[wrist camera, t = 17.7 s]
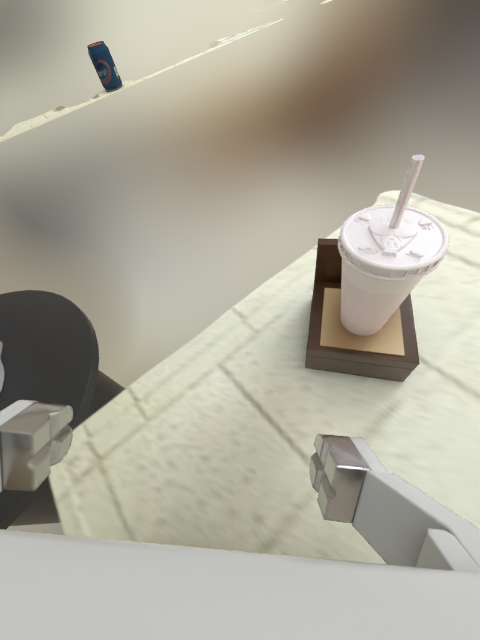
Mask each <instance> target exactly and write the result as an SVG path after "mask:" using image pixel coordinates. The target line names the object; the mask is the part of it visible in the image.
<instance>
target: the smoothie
mask: <svg viewBox="0 0 480 640" xmlns="http://www.w3.org/2000/svg"><path fill="white" fill-rule="evenodd" d="M423 160H424V156H423V155H414V156H413V157H412V160H411V163H410V166H409V169H408V172H407V175H406V177H405V181H404V183H403V186H402V189H401V192H400V195H399V198H398V201H397V204H396V205H377V206H373V207H368V208H366V209H363V210H360V211H358V212H356V213H355V214H353V215H351V216H350V217H349V218H348V219H347V220H346V221H345V222H344V224H343V226H342V228H341V232H340V236H339V238H338V250H339V252H340V255H341V257H342V277H341V315H340V318H341V323H342V325H343V326H344V327H345V328H346V329H347V330H348V331H349V332H351V333H353V334H356V335H360V336H369V335H373V334H375V333H377V332H378V331H379V330H380V329H381V328H382V327H383V326H384V324H385V323H386V322H387V321H388V319H389V318H390V317H391V316H392V314H393V313H394V312H395V311H396V309H397V308H398V307H399V306H400V304H401V303H402V302H403V301H404V300H405V298H406V297H407V296H408V295H409V293H410V292H411V291H412V290H413V288H414V287H415V286H416V285H417V284H418V282H419V281H420V280H421V279H422V277H423V276H424V275H427V274H428V273H430V272H431V271H433V270H434V269H436V268H437V267H438V266H439V264H440V263H441V262H442V260H443V257H444V254H445V253H446V251H447V249H448V247H449V243H450V239H449V234H448V231H447V229H446V228H445V226H444V225H443V224H442V223H441V222H440V221H439V220H438V219H436V218H435V217H434V216H432V215H430V214H428V213H427V212H425V211H422V210H419V209H416V208H413V207H408V206H407V203H408V200H409V198H410V195H411V192H412V190H413V187H414V184H415V182H416V179H417V176H418V174H419V171H420V168H421V166H422V162H423Z"/></svg>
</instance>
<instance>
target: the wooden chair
mask: <svg viewBox="0 0 480 640" xmlns="http://www.w3.org/2000/svg"><path fill="white" fill-rule="evenodd" d="M341 277H342V257H341V255H340V252H339V250H338V239H318V248H317V259H316V269H315V280H314V289H313V298H312V307H311V316H310V325H309V334H308V343H307V353H306V364H305V367H306V368H312V369H319V370H326V371H333V372H340V373H347V374H354V375H361V376H368V377H375V378H382V379H389V380H396V381H404V380H405V379H406V378H407V377H408V376H409V375H410V373H411V372H412V371H413V370H414V369H415V368H416V367H417V366H418V365H419V356H418V348H417V341H416V333H415V326H414V318H413V310H412V303H411V295H410V293H409V295H408V296H407V297H406V298H405V300H404V301H403V302H402V303H401V304H400V306H399V307H398V308H397V309H396V311H395V312H394V313H393V314H392V316H391V317H390V318H389V319H388V321H387V322H386V323H385V324H384V326H383V327H382V328H381V329H380V330H379V331H378V332H377V333H375V334H373V335H369V336H360V335H356V334H353V333H351V332H349V331H348V330H347V329H346V328H345V327H344V326H343V325H342V323H341V318H340V315H341Z"/></svg>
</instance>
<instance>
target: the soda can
mask: <svg viewBox="0 0 480 640" xmlns="http://www.w3.org/2000/svg"><path fill="white" fill-rule="evenodd" d="M88 53H89V56H90V58H91V60H92V62H93V65H94V67H95V69H96V72H97V74H98V76H99V78H100V80H101V83H102V85H103V87H104V88H105V89H106V90H107V91H109V92H110V91H115V90H117V89H120V88H121V87H122V81H121V79H120V76H119V74H118V72H117V69H116V66H115V64H114V61H113V59H112V56H111V54H110V52H109V49H108V47H107V46H106V45H105V44H104V42H103V41H100V42H96V43H93V44H90V45H88Z"/></svg>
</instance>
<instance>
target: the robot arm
mask: <svg viewBox="0 0 480 640" xmlns="http://www.w3.org/2000/svg"><path fill="white" fill-rule="evenodd" d="M2 349H3V342H2V341H0V393H1V390H2V387H3V383H4V376H5V372H4V366H3V364H2V361H1V353H2ZM72 419H73V410H72V408H71V407H70V406H68V405H61V404H53V403H46V402H38V401H30V400H18V401H16V402H15V403H13V404H12V405H10V406H8V407H7V408H5V409H4V410H2V411H0V492H1V491H2V489H9V490H24V491H35V490H36V489H37V488H38V486H39V485H40V484H41V483H42V482H43V481H44V480H45V479H46V477H47V476H48V475H49V474H50V467H51V466H53V465H55V464H57V463H59V462H61V460H62V459H63V458H64V457H65V456H66V454H67V452H68V450H69V448H70V446H71V442H72V438H73V430H72V429H71V427H70V426H69V425H68V423H69V422H70V421H71V420H72ZM314 447H315V449H316V451H317V452H315V453H314V454H313V455H312V456H311V461H310V480H311V483H312V487H313V488H314V489H315V490H316V491H317V492H318V493H319V494H318V498H317V501H318V504H319V507H320V510H321V513H322V516H323V518H324V520H330V521H338V522H345V523H352V525H353V526H354V528H355V529H356V530H357V531H358V532H359V533H360V534H361V535H362V536H363V537H364V539H365V540H366V541H367V542H368V543H369V544H370V545H371V546H372V547H373V549H374V550H375V551H376V552H377V553H378V554H379V555H380V556H381V557H382V559H383V560H384V561H385V562H386V563H387V564H388V565H386V564H375V563H363V562H351V561H341V560H330V559H319V558H308V557H298V556H287V555H276V554H266V553H255V552H244V551H234V550H223V549H212V548H201V547H190V546H179V545H168V544H157V543H146V542H135V541H123V540H112V539H101V538H90V537H79V536H68V535H56V534H47V533H36V532H25V531H13V530H3V529H0V640H480V529H479V528H477V527H476V526H474V525H472V524H471V523H469V522H468V521H466V520H465V519H463V518H462V517H460V516H459V515H457V514H456V513H454V512H453V511H451V510H449V509H448V508H446V507H445V506H443V505H442V504H440V503H439V502H437V501H436V500H434V499H433V498H431V497H430V496H428V495H426V494H425V493H423V492H422V491H420V490H419V489H417V488H416V487H414V486H413V485H411V484H410V483H408V482H407V481H405V480H403V479H402V478H400V477H399V476H397V475H396V474H394V473H389V472H388V471H387V469H386V468H385V467H384V465H383V464H382V463H381V461H380V460H379V459H378V457H377V456H376V454H375V453H374V452H373V450H372V449H371V448H370V446H369V445H368V444H367V442H366V441H365V440H364V439H363V438H361V437H348V436H347V437H346V436H334V435H323V434H317V436H316V438H315V442H314Z"/></svg>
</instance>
